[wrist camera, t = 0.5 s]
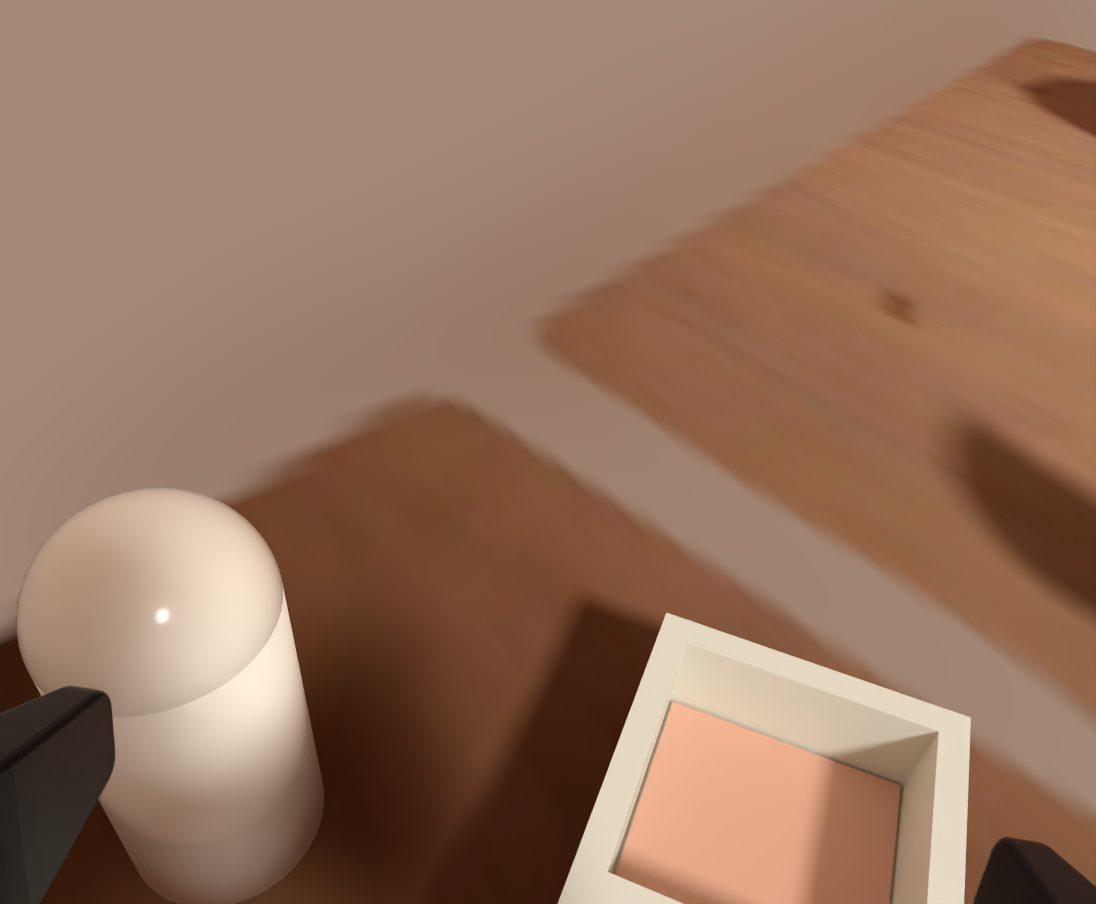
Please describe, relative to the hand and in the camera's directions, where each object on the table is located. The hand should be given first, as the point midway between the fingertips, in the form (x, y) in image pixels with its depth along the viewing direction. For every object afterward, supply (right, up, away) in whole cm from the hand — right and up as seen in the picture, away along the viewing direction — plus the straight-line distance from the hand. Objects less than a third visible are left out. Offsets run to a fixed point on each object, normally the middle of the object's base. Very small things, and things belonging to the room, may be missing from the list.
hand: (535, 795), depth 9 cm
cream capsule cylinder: (-9, -7, +16) cm, 20 cm away
